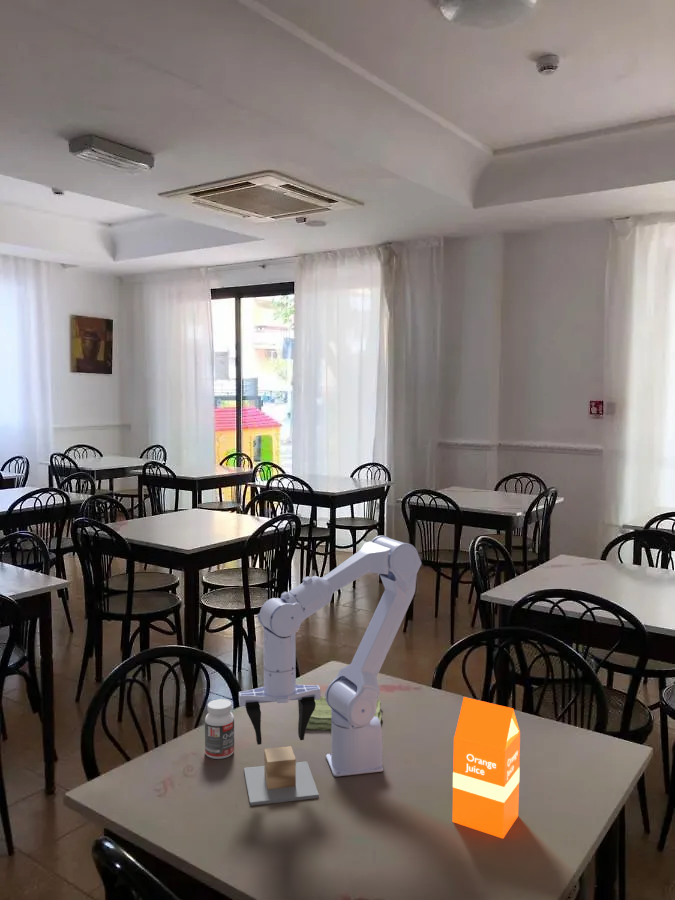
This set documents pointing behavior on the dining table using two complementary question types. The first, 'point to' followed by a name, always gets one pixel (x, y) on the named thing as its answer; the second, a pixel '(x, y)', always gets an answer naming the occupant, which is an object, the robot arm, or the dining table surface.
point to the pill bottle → (219, 729)
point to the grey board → (263, 795)
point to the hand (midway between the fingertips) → (280, 739)
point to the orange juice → (486, 767)
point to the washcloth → (328, 715)
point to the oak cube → (279, 767)
